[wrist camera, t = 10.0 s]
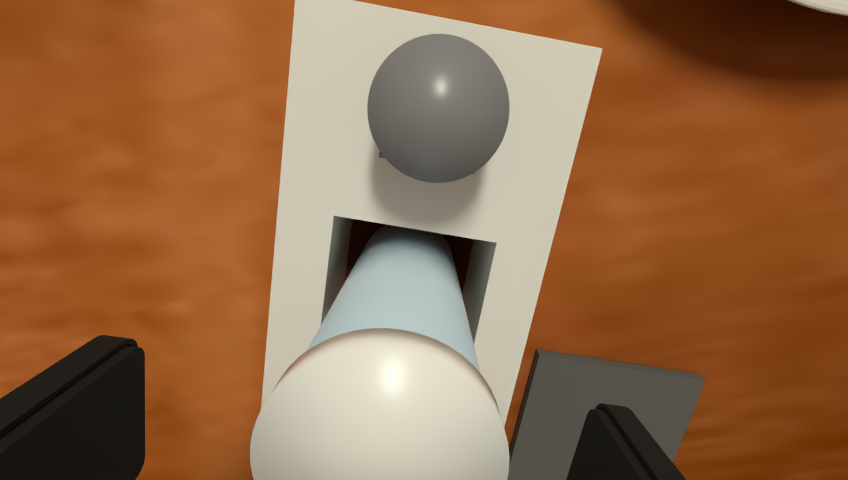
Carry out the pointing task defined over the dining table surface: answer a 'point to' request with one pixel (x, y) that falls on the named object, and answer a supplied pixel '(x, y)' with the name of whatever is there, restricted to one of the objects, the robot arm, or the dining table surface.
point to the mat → (582, 391)
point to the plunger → (438, 108)
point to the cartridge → (386, 379)
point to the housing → (413, 199)
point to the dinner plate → (826, 5)
